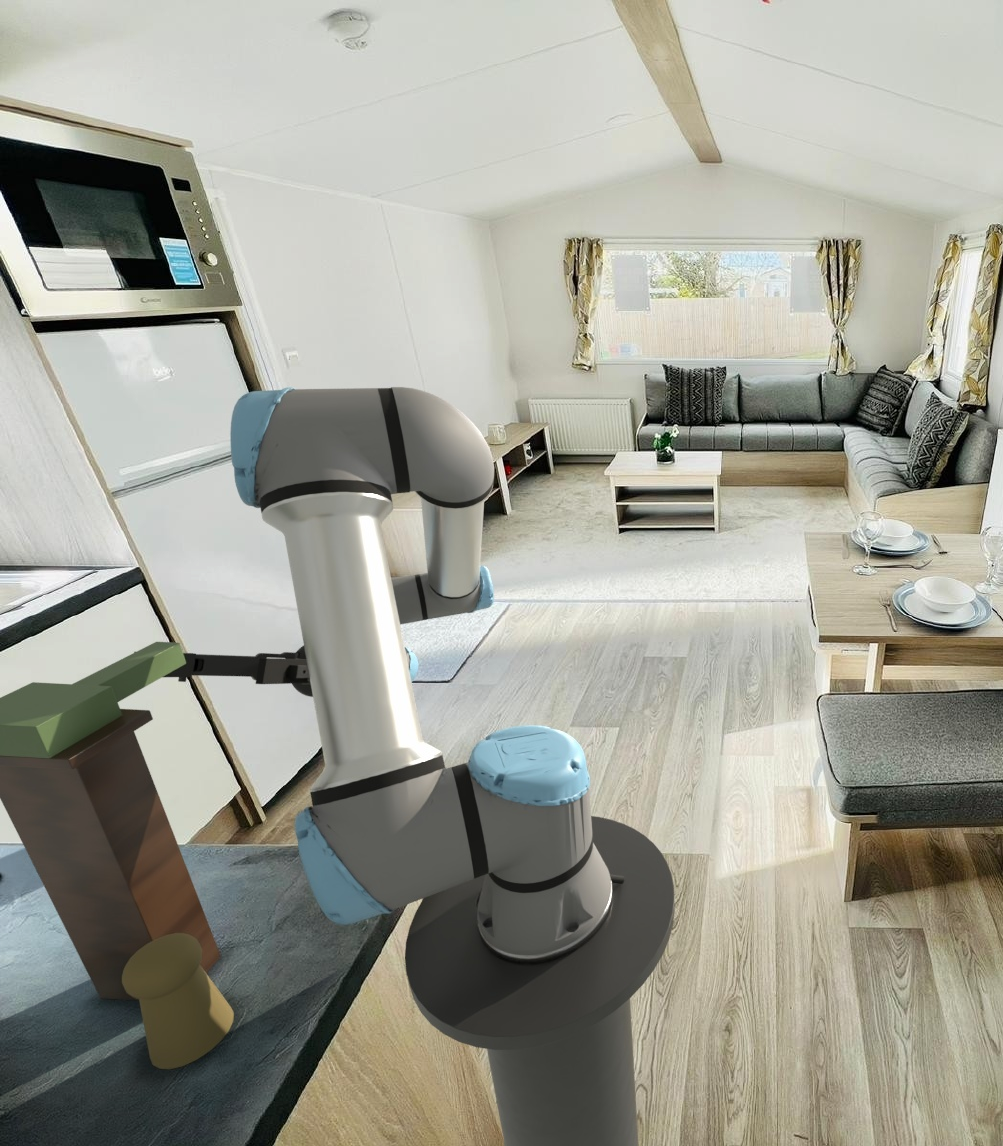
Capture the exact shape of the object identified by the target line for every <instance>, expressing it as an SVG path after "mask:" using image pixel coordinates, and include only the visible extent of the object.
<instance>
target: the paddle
mask: <svg viewBox="0 0 1003 1146" xmlns="http://www.w3.org/2000/svg"><path fill="white" fill-rule="evenodd" d="M134 652H135V653H134ZM134 652H133V653H131V654H129V655H127V656H125V657H123V658H121V659H119V660H117V661H115V662H113V663H111V664H109V665H108V666H105V667H103V668H101V669H99V670H96V672H93V673H92V674H90V675H87V676H86V677H84V678H82V679H79V680H77V681H76V682H73V683H70V684H69V683H54V682H35V681H33V682H30V683H28V684H26V685H24V686H21V687H20V688H18V689H15V690H13V691H11V692H10V693H6V694H5V695H2V696H1V697H0V756H16V757H34V758H51V757H53V756H55V755H56V754H58V753H60V752H62V751H63V750H65V749H67V748H68V747H70V746H72V745H73V744H75V743H77V742H78V741H80V740H82V739H84V738H85V737H87V736H89V735H90V734H92V733H94V732H95V731H97V730H99V729H101V728H102V727H104V726H106V725H107V724H109V723H111V722H112V721H114V720H116V719H117V718H119V717H121V716H122V712H121V710H120V709H121V707H120V704H119V702H121V701H123V700H124V699H127V698H128V697H130V696H131V695H134V694H135V693H137V692H138V691H140V690H142V689H144V688H146V687H147V686H150V685H151V684H153V683H155V682H156V681H158V680H160V679H161V678H164V677H163V676H165V675H167V674H169V673H170V672H172V671H174V670H176V669H177V668H179V667H181V666H183V665H185V664H186V661H185V658H184V655H183V653H184V652H183V649H182V646H181V643H180V642H175V641H174V642H173V641H171V642H170V641H155V642H152V643H151V644H148V645H147V646H144V647H143V648H141V649H139V650H137V651H134Z"/></svg>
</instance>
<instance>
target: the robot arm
mask: <svg viewBox="0 0 1003 1146" xmlns="http://www.w3.org/2000/svg"><path fill="white" fill-rule="evenodd" d="M229 432H230V433H229V435H230V456H231V465H232V467H233V475H234V483H235V487H236V490H237V493H238V495H239V498H240V500H241V501H242V503H243V504H244V505H246V506H248V507H254V508H256V509H260V513H261V518H262V521H263V522H264V523H265V524H267V525H269V526H271V527H272V528H274V529H275V530H277V531H279V532H280V533H281V534H283V536H284V540H285V546H286V551H287V553H286V554H287V557H288V563H289V568H290V574H291V581H292V585H293V592H294V597H295V602H296V608H297V614H298V620H299V626H300V632H301V636H302V643H303V645H302V646H301V647H299V648H298V649H297V651H296V652H294V651H293V652H290V651H285V652H281V653H267V652H258V653H256V654H255V655H231V654H230V655H229V654H206V653H205V654H204V653H203V654H201V653H199V654H198V653H193V652H183V655H184V658H185V661H186V664H185V665H183V666H181V667H179V668H177V669H176V670H174V671H172V672H170V673H169V674H167V675H165V676H163V677H162V678H178V680H177V682H179V683H186V681H187V679H188V678H192V677H193V676H197V677H198V676H201V677H202V676H203V677H205V676H207V677H246V678H247V677H248V678H249V677H250V678H251V679H252V680H253V681H255V685H286V684H287V685H289V684H291V685H292V686H293V688H294V689H295V690H296V691H297V692H298V693H300V694H302V695H303V696H306V697H310V698H312V699H313V704H314V710H315V715H316V721H317V728H318V732H319V738H320V743H321V750H322V755H323V760H324V766H323V770H322V771H321V773H320V774H319V776H318V777H317V778H316V779H315V781H314V783H312V785H311V786H310V787H309V794H310V800H311V805H310V806H306V807H304V808H303V810H301V811H299V812H298V813H297V814H296V816H295V818H294V832H295V836H296V840H297V850H298V854H299V857H300V861H301V865H302V867H303V871H304V873H305V876H306V879H307V882H308V884H309V887H310V889H311V892H312V894H313V896H314V898H315V901H316V902H317V904H318V906H319V908H320V909H321V911H322V913H323V914H324V915H325V917H327V919H328V920H330V921H331V922H333V923H335V924H338V925H343V926H344V925H345V926H347V925H353V924H355V923H359V922H362V921H364V920H367V919H370V918H374V917H377V916H380V915H383V914H384V915H390V914H392V913H394V911H395V910H397V909H399V908H402V907H404V906H407V905H410V904H412V903H415V902H417V901H420V900H423V898H425V897H428V896H431V895H433V894H436V893H439V892H441V891H444V890H447V889H449V888H452V887H454V886H457V885H460V884H462V883H465V882H468V881H470V880H473V879H475V878H477V877H480V876H483V875H485V874H486V876H485V880H484V883H483V886H482V889H481V891H480V894H479V896H478V899H477V901H476V908H477V905H478V911H477V922H478V928H479V934H480V937H481V940H482V942H483V944H484V945H485V947H486V948H487V949H488V950H489V951H490V952H491V953H492V954H493V955H495V956H496V957H498V958H500V959H502V960H504V961H507V962H510V963H514V964H522V965H533V964H541V963H546V962H550V961H554V960H557V959H559V958H562V957H564V956H566V955H568V954H570V953H572V952H574V951H576V950H577V949H579V948H580V947H582V946H583V945H584V944H586V943H587V942H588V941H589V940H590V939H591V938H592V937H593V936H594V935H595V934H596V933H597V932H598V931H599V929H600V928H601V927H602V925H603V924H604V922H605V920H606V919H607V917H608V914H609V912H610V909H611V905H612V883H617V884H623V883H624V876H619V875H611V874H609V871H608V868H607V866H606V864H605V863H604V861H603V859H602V857H601V856H600V854H599V852H598V850H597V848H596V847H595V845H594V843H593V836H592V822H591V816H592V811H591V798H590V786H591V776H590V773H589V771H588V765H587V761H586V760H587V759H586V755H585V751H584V750H583V747H582V746H581V744H580V743H579V742H578V740H576V739H575V738H574V737H573V736H572V735H570V734H569V733H566V731H565V732H564V731H563V730H560V729H555V728H552V727H550V726H546V725H545V726H544V725H537V724H536V725H535V724H528V725H527V724H523V725H516V726H510V727H507V728H502V729H499V730H496V731H494V732H492V733H490V734H488V735H487V736H485V739H481V740H480V741H478V742H477V743H476V744H475V745H474V747H473V748H472V751H471V753H470V755H469V758H468V761H467V762H464V763H461V764H458V765H454V766H451V767H446V765H445V761H444V756H443V751H441V750H439V748H437V747H434V746H433V745H431V744H429V743H427V742H426V741H425V740H424V738H423V733H422V729H421V724H420V718H419V713H418V708H417V703H416V698H415V693H414V692H415V691H414V687H413V681H414V680H415V679H416V677H417V675H418V671H419V660H418V657H417V656H416V654H415V653H414V652H413V650H412V649H411V648H409V647H407V646H406V645H405V641H404V636H403V631H402V626H401V625H405V624H412V623H417V622H422V621H428V620H432V619H433V620H434V619H438V618H444V617H445V618H446V617H450V616H457V615H463V614H472V613H474V612H476V611H481V610H485V609H489V608H491V607H492V605H494V603H495V594H494V593H495V592H494V585H493V581H492V576H491V572H490V570H489V569H488V567H487V566H486V565H482V564H481V561H482V560H481V559H482V543H483V528H484V527H483V526H484V511H485V510H484V509H485V500H486V499H487V498H488V497H489V496H490V494H491V493H492V491H493V487H494V483H495V482H494V481H495V465H494V459H493V454H492V451H491V449H490V447H489V444H488V442H487V441H486V439H485V438H484V436H483V433H482V432H481V431H480V430H479V428H478V427H477V426H476V424H474V422H473V421H472V420H471V419H469V417H468V416H467V415H465V414H464V413H463V412H462V410H460V409H458V407H456V406H454V405H453V404H452V403H450V402H448V401H447V400H445V399H443V398H442V397H439V396H438V395H436V394H433V393H431V392H428V391H424V390H421V389H418V388H417V389H416V388H413V387H404V386H391V387H365V388H364V387H363V388H362V387H361V388H359V387H358V388H357V387H356V388H295V387H291V386H290V387H289V386H287V387H283V388H282V389H270V390H253V391H250V392H247V393H244V394H243V395H241V396H240V397H239V398H238V399H237V401H236V403H235V404H234V407H233V410H232V413H231V421H230V431H229ZM410 492H412V493H413V492H415V494H416V495H417V496H418V497H419V498H420V504H421V515H422V527H423V537H424V550H425V560H426V571H427V572H425V573H420V574H412V575H405V576H404V575H403V576H398V577H392V576H391V571H390V565H389V561H388V560H389V559H388V555H387V550H386V549H387V548H386V546H385V540H384V535H383V530H382V523H383V522H384V521H385V520H386V518H388V517H389V515H390V514H391V513H392V512H393V510H394V503H393V499H392V498H393V497H392V495H396V494H406V493H410ZM135 652H136V651H133V653H135Z"/></svg>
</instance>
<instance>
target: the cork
mask: <svg viewBox="0 0 1003 1146" xmlns="http://www.w3.org/2000/svg"><path fill="white" fill-rule="evenodd" d="M201 959H202V948H201V945H200V944H199V942H198V940H197V939H196V938H195V937H193V936H191V935H189V934H185V933H174V934H169V935H165V936H163V937H160V938H157V939H155V940H153V941H152V942H150V943H148V944H146V945H145V946H143V947H142V948H141V949H139V950H138V951H137V952H136V953H135V954H134V955H133V956H132V957H131V958H130V959H129V961H128V962H127V964H126V966H125V968H124V970H123V974H122V984H123V986H124V988H125V990H126V992H127V993H128V994H129V995H131V996H132V997H134V998H136V999H139V1001H138V1002H139V1006H140V1011H141V1016H142V1017H141V1018H142V1023H143V1028H144V1033H145V1038H146V1044H147V1049H148V1054H149V1059H150V1062H151V1064H152V1065H153V1066H154V1067H155V1068H158V1069H160V1070H172V1069H178V1068H181V1067H184V1066H186V1065H188V1064H190V1063H193V1062H195V1061H197V1060H199V1059H200V1058H201V1057H204V1056H205V1055H207V1054H208V1053H209V1052H211V1051H212V1050H213V1049H214V1048H215V1047H216V1046H217V1045H218V1044H220V1042H222V1041H223V1039H224V1038H225V1037H226V1035H227V1034H228V1033H229V1031H230V1029H231V1027H232V1025H233V1023H234V1018H235V1017H234V1016H235V1012H234V1010H233V1009H232V1006H231V1004H229V1003H228V1001H227V1000H226V998H225V997H224V995H223V994H222V993H221V992H220V990H219V989H218V987H217V985H215V983H214V982H213V981H212V979H211V977H210V976H209V975H208V974H207V973H206V972H205V971H204V970H203V968H202V967H201V966H200V963H201Z"/></svg>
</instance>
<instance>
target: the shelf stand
mask: <svg viewBox="0 0 1003 1146" xmlns="http://www.w3.org/2000/svg"><path fill="white" fill-rule="evenodd" d="M120 710H121V712H122V716H121V717H119V718H117V719H116V720H114V721H112V722H111V723H109V724H107V725H106V726H104V727H102V728H101V729H99V730H97V731H95V732H94V733H92V734H90V735H89V736H87V737H85V738H84V739H82V740H80V741H78V742H77V743H75V744H73V745H72V746H70V747H68V748H67V749H65V750H63V751H62V752H60V753H58V754H56V755H55V756H53V757H51V758H34V757H16V756H0V801H1V803H2V805H3V807H4V809H5V811H6V813H7V815H8V817H9V819H10V821H11V823H12V825H13V827H14V828H15V831H16V833H17V835H18V837H19V839H20V841H21V843H22V845H23V847H24V849H25V851H26V853H27V855H28V857H29V859H30V862H31V864H32V865H33V867H34V869H35V871H36V873H37V875H38V877H39V879H40V881H41V883H42V885H43V886H44V889H45V891H46V893H47V895H48V898H49V899H50V901H51V904H52V905H53V907H54V908H55V911H56V913H57V915H58V916H59V918H60V921H61V923H62V925H63V927H64V928H65V931H66V933H67V935H68V937H69V939H70V941H71V944H72V945H73V947H74V948H75V951H76V953H77V955H78V956H79V958H80V961H81V963H82V965H83V967H84V969H85V971H86V972H87V974H88V977H89V979H90V980H91V982H92V985H93V986H94V988H95V990H96V991H95V992H97V994H98V997H99V998H100V999H107V1000H120V1001H121V1000H122V1001H123V1000H124V1001H136V1002H137V1001H138V1002H139V999H136V998H134V997H132V996H131V995H129V994H128V993H127V992H126V990H125V988H124V986H123V984H122V974H123V970H124V968H125V966H126V964H127V962H128V961H129V959H130V958H131V957H132V956H133V955H134V954H135V953H136V952H137V951H138V950H139V949H141V948H142V947H143V946H145V945H146V944H148V943H150V942H152V941H153V940H155V939H157V938H160V937H163V936H165V935H169V934H174V933H185V934H189V935H191V936H193V937H195V938H196V939H197V940H198V942H199V944H200V945H201V948H202V959H201V963H200V966H201V967H202V968H203V970H204V971H205V972H206V974H207V973H208V972H209V971H210V970H211V969H212V967H214V965H215V964H216V963H217V962H218V961H219V960H220V959H221V957H222V955H221V953H220V949H219V947H218V945H217V943H216V940H215V937H214V934H213V931H212V929H211V926H210V924H209V922H208V919H207V917H206V913H205V911H204V908H203V906H202V904H201V901H200V898H199V896H198V893H197V890H196V888H195V885H194V883H193V880H192V877H191V875H190V872H189V869H188V867H187V864H186V861H185V859H184V857H183V855H182V851H181V849H180V847H179V844H178V842H177V839H176V836H175V834H174V830H173V829H172V825H171V823H170V820H169V818H168V816H167V813H166V810H165V807H164V805H163V802H162V800H161V797H160V794H159V792H158V789H157V787H156V785H155V782H154V779H153V776H152V774H151V772H150V769H149V767H148V764H147V761H146V759H145V756H144V753H143V751H142V749H141V745H140V743H139V741H138V738H137V735H136V733H135V731H137V730H139V729H140V728H142V727H143V726H145V725H146V724H148V723H150V722H151V721H153V720H154V718H153V715H152V711H150V710H149V709H131V708H120Z"/></svg>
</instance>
